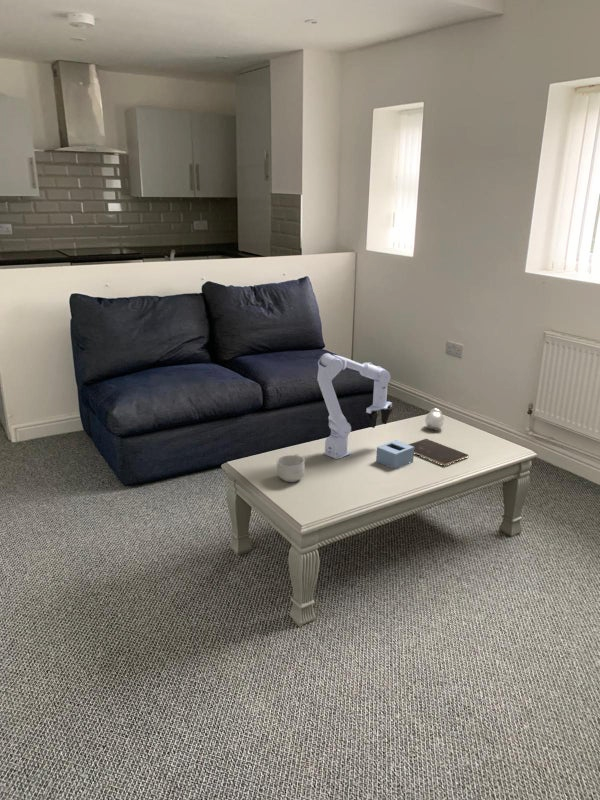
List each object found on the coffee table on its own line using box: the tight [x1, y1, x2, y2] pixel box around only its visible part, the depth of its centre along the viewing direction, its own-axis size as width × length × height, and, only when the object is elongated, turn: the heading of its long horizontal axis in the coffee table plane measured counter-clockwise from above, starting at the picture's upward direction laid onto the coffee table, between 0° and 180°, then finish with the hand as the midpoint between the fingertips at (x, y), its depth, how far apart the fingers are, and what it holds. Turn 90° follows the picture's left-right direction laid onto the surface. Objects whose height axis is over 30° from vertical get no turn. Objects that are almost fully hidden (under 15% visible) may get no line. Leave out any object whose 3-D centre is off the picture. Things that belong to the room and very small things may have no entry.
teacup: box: [276, 453, 306, 483], centre depth 249 cm, size 14×11×8 cm
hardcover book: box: [408, 438, 469, 467], centre depth 275 cm, size 16×23×2 cm
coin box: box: [375, 440, 415, 470], centre depth 266 cm, size 12×10×6 cm
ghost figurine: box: [424, 407, 445, 430], centre depth 303 cm, size 9×10×10 cm
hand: (378, 425), depth 278 cm, fingers open, 7 cm apart
